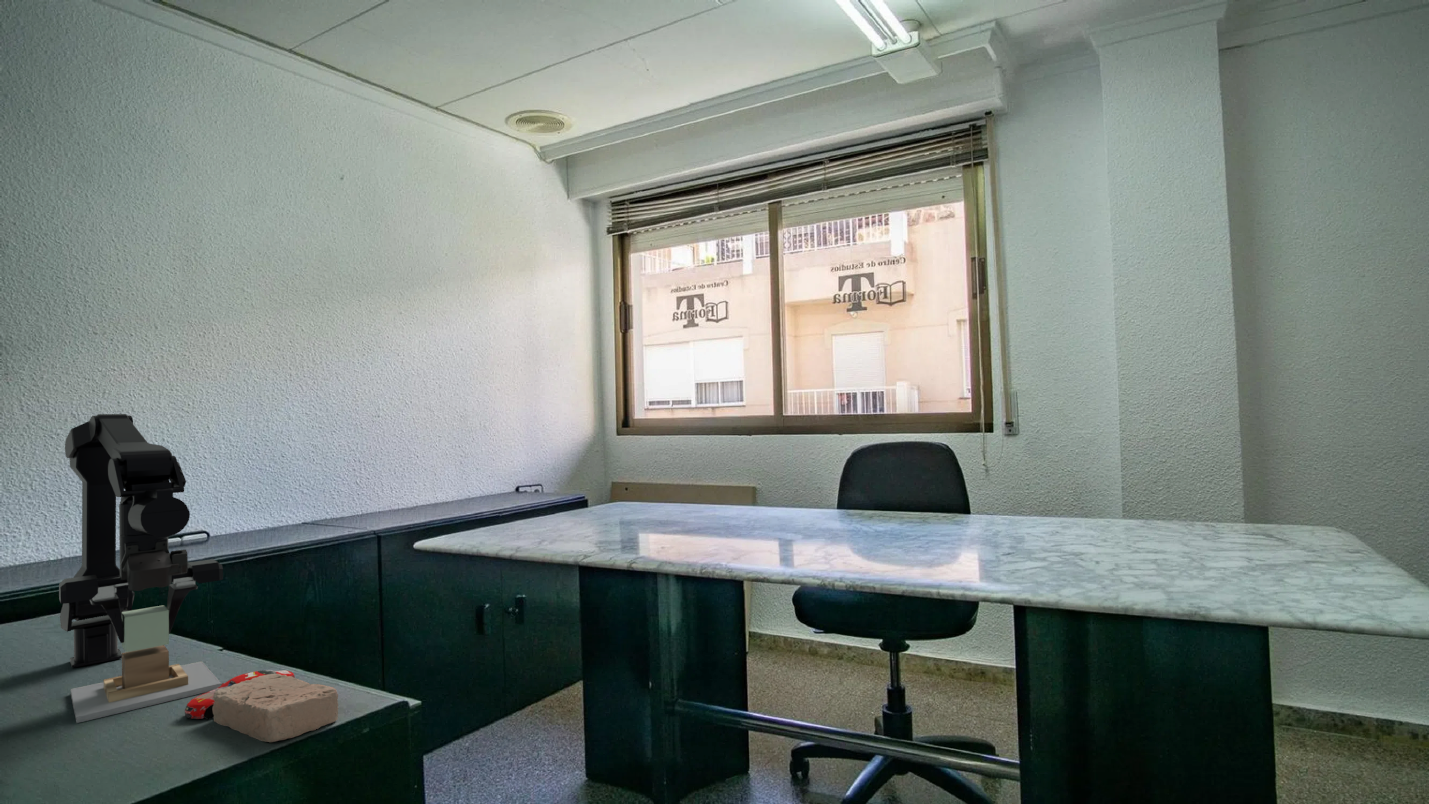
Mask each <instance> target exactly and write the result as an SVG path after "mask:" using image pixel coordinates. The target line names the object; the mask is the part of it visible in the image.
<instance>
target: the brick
mask: <svg viewBox="0 0 1429 804" xmlns="http://www.w3.org/2000/svg"><path fill="white" fill-rule="evenodd" d="M338 698H339V694H338V691H337V689H336V688H334V687H332V686H329V685H325V684H318V683H309V682H307V681H305V680H302V679H298V678H296V677H295V678H294V677H291V676H286V675H280V674H268V675H263V676H259V677H257V678H253V679H251V680H246V681H243V682H240V683H238V684H234V685H232V686H229V687H226V688H223V689H219V690H217V691H215V692H214V696H213V700H214V701H215V702H214V705H213V709H212V710H213V714H214V718H213V722H214V723H217V724H218V725H221V726H224V727H228V728H230V729H231V730H233V731H238V732H239V733H241V734H243V735H248V737H250V738H253V739H256V740H259V741H260V742H266V743H267V742H269V743H274V742H278V741H285V740H287V739H293V738H295V737H299V736H301V735H302V734H305V733H308V732H310V731H311V732H312V731H317V730H318V729H319V728H321V727H324V726H326V725H330V724H333V723H334V722H336V721H338V719H339V715H338V714H339V700H338ZM316 729H317V730H316Z"/></svg>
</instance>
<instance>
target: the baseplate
mask: <svg viewBox="0 0 1429 804" xmlns="http://www.w3.org/2000/svg"><path fill="white" fill-rule="evenodd" d="M221 685H222V682H221V681H220V680H219V679H218V678H217V676H215V674H214V673H213V672H212V671H211V670H210V669H209V667H208V666H207V665H206V664H205V663H204V662H203V661H202V660H201V661H196V662H192V663H187V664H182V665H180V663H176V664H171V665H170V664H169V679H166V680H161V681H157V682H152V683H148V684H143V685H139V686H134V687H130V688H125V689H123V688H122V675H117V676H113V677H110V678H109V677H108V678H105V679H103V680H102V682H99V683H92V684H88V685H84V686H78V687H74V688H70V698H71V699H70V700H71V703H72V708H73V713H74V717H75V724H79V723H83V722H87V721H92V720H95V719H101V718H104V717H108V716H113V715H117V714H121V713H124V712H129V711H133V710H139V709H141V708H148V707H150V706H155V705H158V704H162V703H167V702H171V701H172V702H173V701H176V700H179V699H183V698H188V697H192V696H196V695H202V694H204V693H207V692H209V691H212V690H215V689H217V688H218V687H220V686H221Z"/></svg>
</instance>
